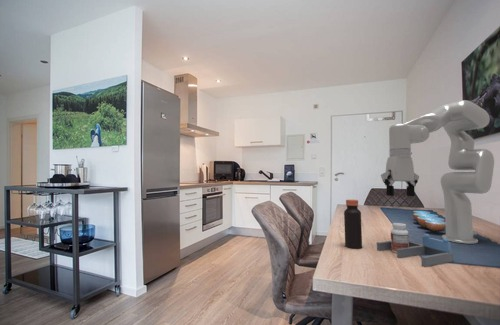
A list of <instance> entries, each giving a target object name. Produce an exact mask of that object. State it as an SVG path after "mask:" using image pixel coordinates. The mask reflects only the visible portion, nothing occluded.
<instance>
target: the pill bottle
mask: <svg viewBox="0 0 500 325" xmlns="http://www.w3.org/2000/svg"><path fill="white" fill-rule="evenodd" d="M409 235H410V234H409V230H407V224H405V223H402V222H394V223H392V228H391V229H390V241H391V249H390V250H391V252H393V253H396V254H397V249H400V248H407V247H409V241H410V236H409Z"/></svg>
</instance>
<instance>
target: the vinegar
mask: <svg viewBox="0 0 500 325" xmlns="http://www.w3.org/2000/svg"><path fill="white" fill-rule="evenodd" d="M345 205H346V206H345V207H346V209H345V210H344V211H343V218H344V219H343V223H344V244H345V245H344V246H345V247H346V248H348V249H354V250H355V249H356V250H357V249H362V248H363V235H362V232H363V231H362V213H361V210H360V209H358V207H359V200H358V199H346V200H345Z"/></svg>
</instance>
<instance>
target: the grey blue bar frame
mask: <svg viewBox="0 0 500 325" xmlns="http://www.w3.org/2000/svg"><path fill="white" fill-rule="evenodd" d="M451 245H452V241H449V239H446V238H442V239H437V238H434V237H430V234H428V233H424V234H423V236H422V244H421V243H418V242H414V241H410V240H409V247H407V248H400V249H397V253H396V258H398V259H402V258H403V259H404V258H408V257H409V258H410V257H415V256H421V255H422V256H421V261H420V262H421V263H420V264H421V267H425V268H426V267H427V268H428V267H432V266H437V265H442V264H448V263H452V262H453V263H454V252H452V246H451ZM387 250H391V240H388V241H387V240H386V241H380V242H379V241H378V242H376V251H379V252H380V251H387ZM423 255H424V256H423Z"/></svg>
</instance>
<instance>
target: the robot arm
mask: <svg viewBox="0 0 500 325" xmlns="http://www.w3.org/2000/svg"><path fill="white" fill-rule="evenodd" d="M490 119H491V117H490V116H489V113H488V112H487V111H486V110H485V108H482V107H481V106H479V105H478V104H476V103H474V102H472V101H470V100H468V99H467V100H465V99H462V100H457V101H453V102H449V103H446V104H445V103H444V104H442V105H439V106H437V107H435V108H434V109H432V110H430V111H429V112H427V113H426V114H424V115H421V116H418V117H417V118H414V119H412V120H410V121H407V122H405V123H397V124H396V123H395V124H391V125H390V127H389V128H388V129H389V130H388V138H389V140H388V142H389V144H388V146H389V147H388V148H389V149H388V150H389V153H388V154H389V156H388V157H387V160H386V162H385V163H386V165H385V172H383V173H382V174H381V175H380V178H381V180H382V182H383V183H384V185H385V187H386V196H392V197H394V196H395V187H394V183H395V182H405V183H406V184H407V186H406V196H408V197H414V196H416V194H415V187H416V186H417V185H416V184H418V181H419V179H420V176H419V175H418V174H417V173H415V170H414V169H415V168H414V167H415V166H414V162H413V157H412V156H411V155H412V154H413V152H412V151H411V149H412V148H411V145H412V144H420V143H424V142H426V141H427V140H428V139H429V137H430V133H433V132H436V131H439V130H441V128H442V127H443V129H444V131H445V133H446V134H447V135H448V137H449V140H450V148H449V153H448V154H449V155H448V163H447V164H448V167H449V168H450V169H451V170H454V171H451V172H446V173H444V174H443V175H441V177H440V185H441V188H442V189H441V190H442V193H443V198H444V199H443V201H444V202H443V203H444V216H445V217H444V220H445V234H442V235H441V238H442V239H443V238H446V239H449V242H451V243H458V244H465V245H466V244H467V245H469V244H471V245H473V244H474V245H475V244H478V243H479V240H478V239H477V238H476V237H474V236H476V235H478V231H477V230H474V229H473V212H472V202H471V200H470V198H469V197H468V196H467V194H487V193H488V192H490V190H491V187H492V184H493V176H494V168H495V156H494V154H493V152H492V151H490V150H489V149H486V148H476V149H475V139H474V138H473V137H472V136H471V135H469V134H468V132H466V131H470V130H471V131H472V130H479V129H483V128H485V127H487V126H488V125H490V124H489V123H490V121H491V120H490Z"/></svg>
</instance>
